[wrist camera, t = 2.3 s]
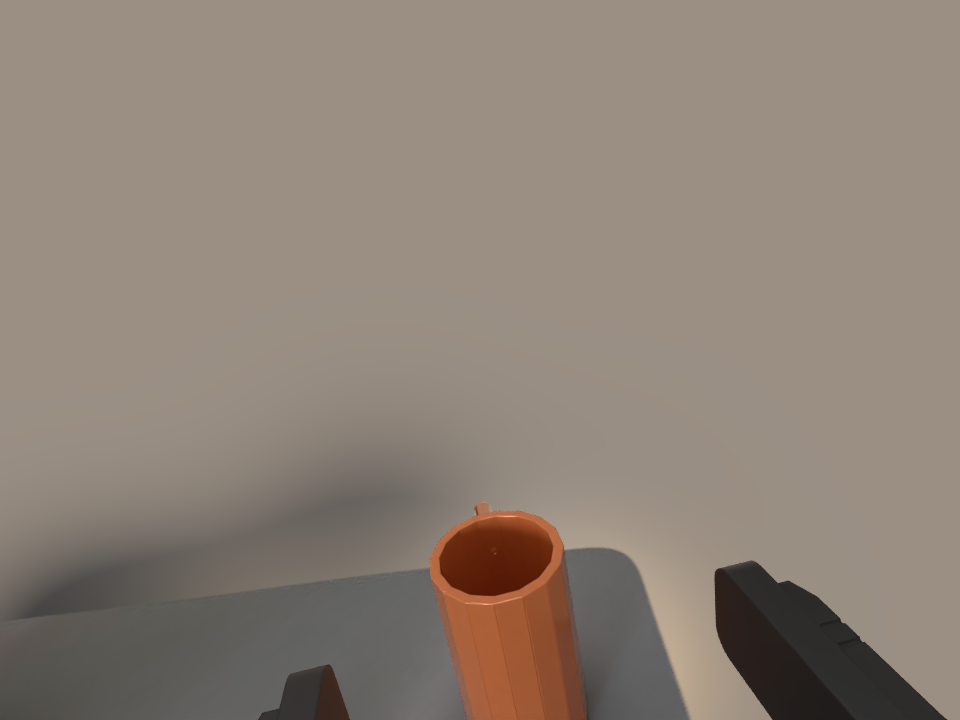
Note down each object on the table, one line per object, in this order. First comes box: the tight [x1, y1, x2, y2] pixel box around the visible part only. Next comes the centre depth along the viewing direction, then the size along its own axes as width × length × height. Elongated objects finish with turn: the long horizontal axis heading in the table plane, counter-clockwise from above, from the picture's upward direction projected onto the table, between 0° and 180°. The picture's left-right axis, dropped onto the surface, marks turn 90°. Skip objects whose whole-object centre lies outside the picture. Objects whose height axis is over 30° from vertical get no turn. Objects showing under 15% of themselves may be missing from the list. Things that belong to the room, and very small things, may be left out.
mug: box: [430, 501, 587, 720], centre depth 26 cm, size 10×6×10 cm, turn 8°
